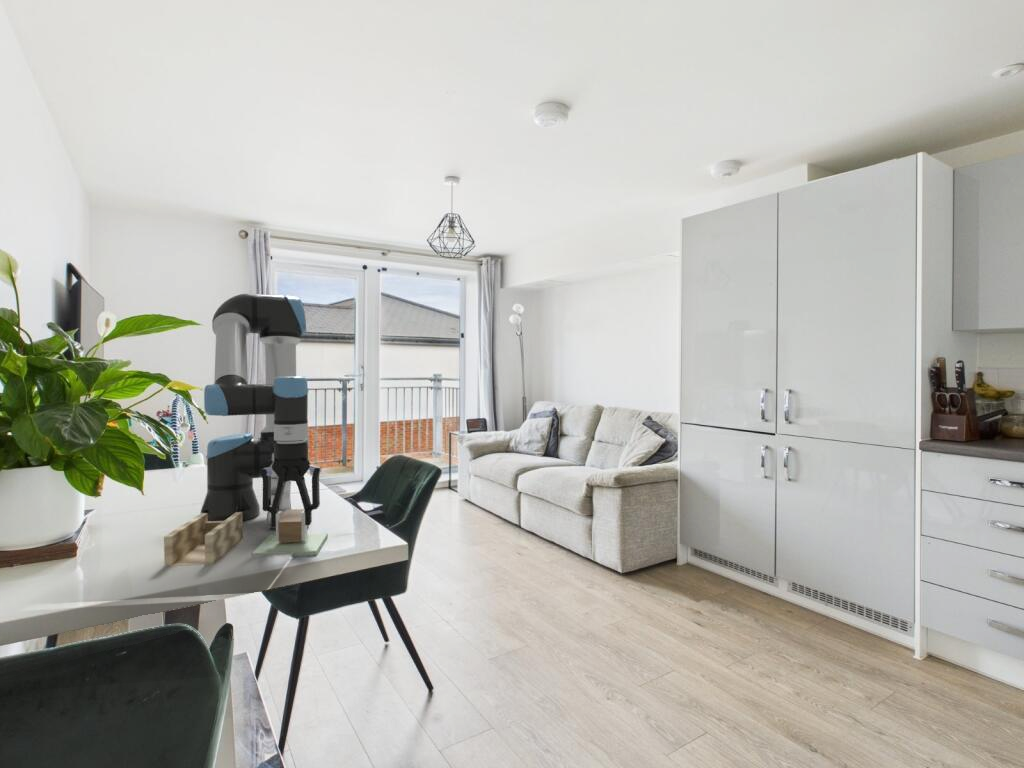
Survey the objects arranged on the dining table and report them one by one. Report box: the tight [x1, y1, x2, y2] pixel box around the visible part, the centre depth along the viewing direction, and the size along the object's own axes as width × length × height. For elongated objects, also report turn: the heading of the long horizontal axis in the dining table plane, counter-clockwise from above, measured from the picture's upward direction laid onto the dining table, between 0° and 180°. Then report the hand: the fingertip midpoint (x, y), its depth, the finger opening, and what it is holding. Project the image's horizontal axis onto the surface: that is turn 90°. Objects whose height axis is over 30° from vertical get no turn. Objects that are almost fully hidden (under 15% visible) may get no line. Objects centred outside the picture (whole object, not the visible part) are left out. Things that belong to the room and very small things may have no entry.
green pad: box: [251, 532, 329, 557], centre depth 131 cm, size 14×14×1 cm
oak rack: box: [163, 512, 244, 567], centre depth 126 cm, size 19×10×7 cm, turn 9°
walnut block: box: [278, 508, 310, 543], centre depth 133 cm, size 8×5×5 cm, turn 9°
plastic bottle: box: [266, 453, 292, 530], centre depth 147 cm, size 6×7×20 cm
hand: (291, 539), depth 131 cm, fingers closed on walnut block, 5 cm apart
